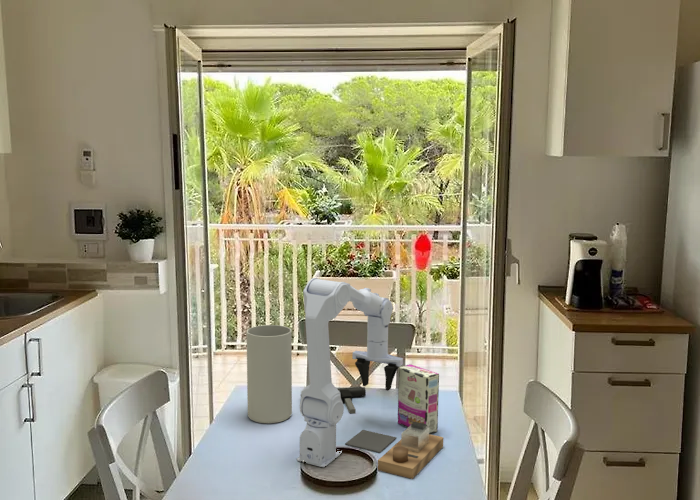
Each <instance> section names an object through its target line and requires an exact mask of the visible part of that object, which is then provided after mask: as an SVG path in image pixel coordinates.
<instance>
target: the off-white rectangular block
mask: <svg viewBox="0 0 700 500" xmlns="http://www.w3.org/2000/svg"><path fill="white" fill-rule="evenodd" d="M400 434H401V436H400V437H401V439H400V440H401V446H403V447H406V448H408V450H409V451H413V452H419V451H420V450H421V449H422V448H423V447H424V446H425V445H426V444H427V443H428V442H429V427H427V426H426V424H424V423H419V422H413V423H412V424H411V425H410V426H409V427H408V428H407V427H406V429H404V431H402V432H401V433H400Z"/></svg>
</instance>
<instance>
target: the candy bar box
mask: <svg viewBox="0 0 700 500" xmlns="http://www.w3.org/2000/svg"><path fill="white" fill-rule="evenodd" d="M439 384H440V373H438V372H435V371H432V370H430V369H425V368H424V367H420V366H417V365H413V364H406V365H402V366H400V367H399V368H398V388H397V389H398V393H397V395H398V397H397V399H398V400H397V402H398V403H397V424H398V425H401V426H403V427H405V428H406V429H407V428H408V427H409V426H410V425H411V424H412V423H413V422H419V423H424V424H426V426H427V427H429V434H431V435H433V434H435V433H437V432H438V431H439V429H438V427H439V426H438V424H439V422H438V421H439V391H440V390H439V389H440V388H439V387H440V385H439Z"/></svg>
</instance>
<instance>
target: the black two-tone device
mask: <svg viewBox="0 0 700 500" xmlns="http://www.w3.org/2000/svg"><path fill="white" fill-rule="evenodd" d="M336 388H337V387H336ZM337 389H338V390H339V392H340V395H341V400H342V402H343V405H345V408H346V409H347V411H348V413H349V414H350V415H352V414H356V408H355V405H354V403H353V398H360V396H362V397H365V396H366V393H367V392H366V386H356V387H355V386H354V387H353V386H352V387H338V388H337Z"/></svg>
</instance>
